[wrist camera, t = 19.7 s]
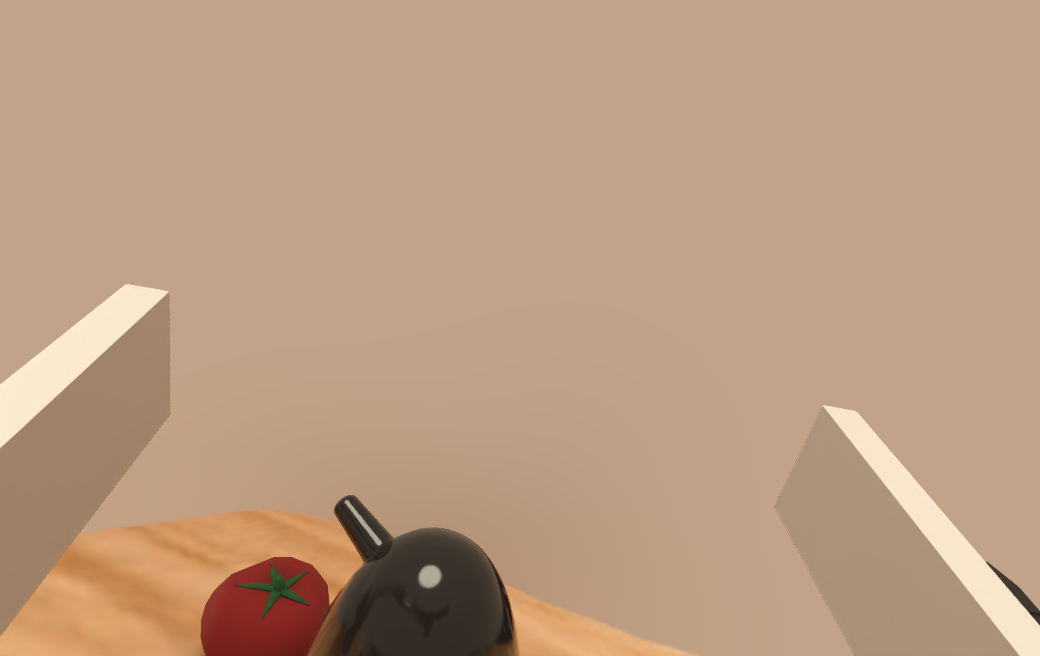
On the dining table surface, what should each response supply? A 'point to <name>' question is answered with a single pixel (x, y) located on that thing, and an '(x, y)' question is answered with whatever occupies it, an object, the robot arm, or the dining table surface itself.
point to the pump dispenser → (415, 596)
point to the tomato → (265, 610)
